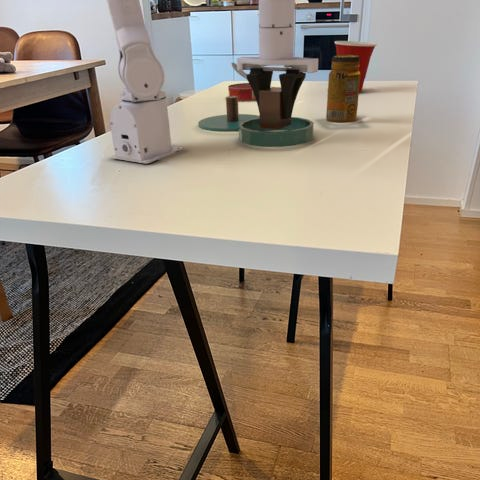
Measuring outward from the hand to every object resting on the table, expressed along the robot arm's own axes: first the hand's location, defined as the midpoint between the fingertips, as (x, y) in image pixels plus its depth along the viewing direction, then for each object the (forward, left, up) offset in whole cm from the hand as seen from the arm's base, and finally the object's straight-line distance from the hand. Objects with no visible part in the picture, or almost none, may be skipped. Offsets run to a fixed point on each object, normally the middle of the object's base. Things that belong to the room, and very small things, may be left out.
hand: (275, 117), depth 85 cm
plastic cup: (+56, +8, -4) cm, 57 cm away
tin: (0, 0, -4) cm, 4 cm away
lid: (+7, +14, -3) cm, 16 cm away
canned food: (+38, +30, -4) cm, 49 cm away
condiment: (+18, -5, -4) cm, 19 cm away
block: (0, 0, -2) cm, 2 cm away
